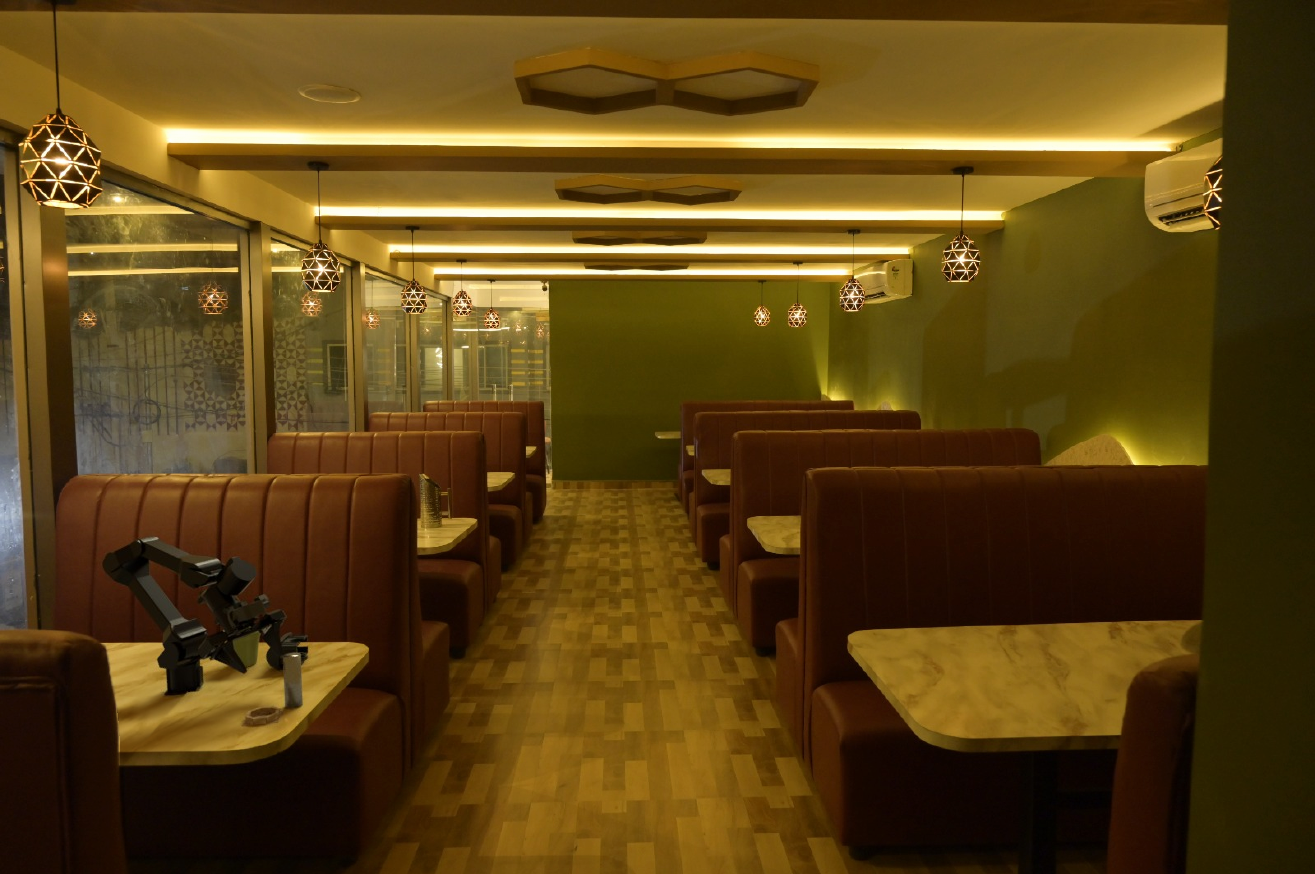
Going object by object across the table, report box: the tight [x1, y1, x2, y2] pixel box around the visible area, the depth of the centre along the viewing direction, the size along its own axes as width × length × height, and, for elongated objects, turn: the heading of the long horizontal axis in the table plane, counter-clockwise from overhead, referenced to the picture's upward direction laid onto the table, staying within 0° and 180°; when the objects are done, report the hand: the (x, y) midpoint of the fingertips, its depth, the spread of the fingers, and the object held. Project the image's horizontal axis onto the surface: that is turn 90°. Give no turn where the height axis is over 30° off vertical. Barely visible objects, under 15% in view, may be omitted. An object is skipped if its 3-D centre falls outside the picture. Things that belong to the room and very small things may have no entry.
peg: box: [282, 653, 304, 710], centre depth 177 cm, size 4×4×12 cm
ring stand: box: [241, 705, 285, 727], centre depth 171 cm, size 7×6×2 cm
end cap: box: [265, 631, 309, 671], centre depth 206 cm, size 10×7×7 cm
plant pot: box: [233, 630, 262, 668], centre depth 206 cm, size 9×9×9 cm
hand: (264, 664), depth 180 cm, fingers open, 9 cm apart
